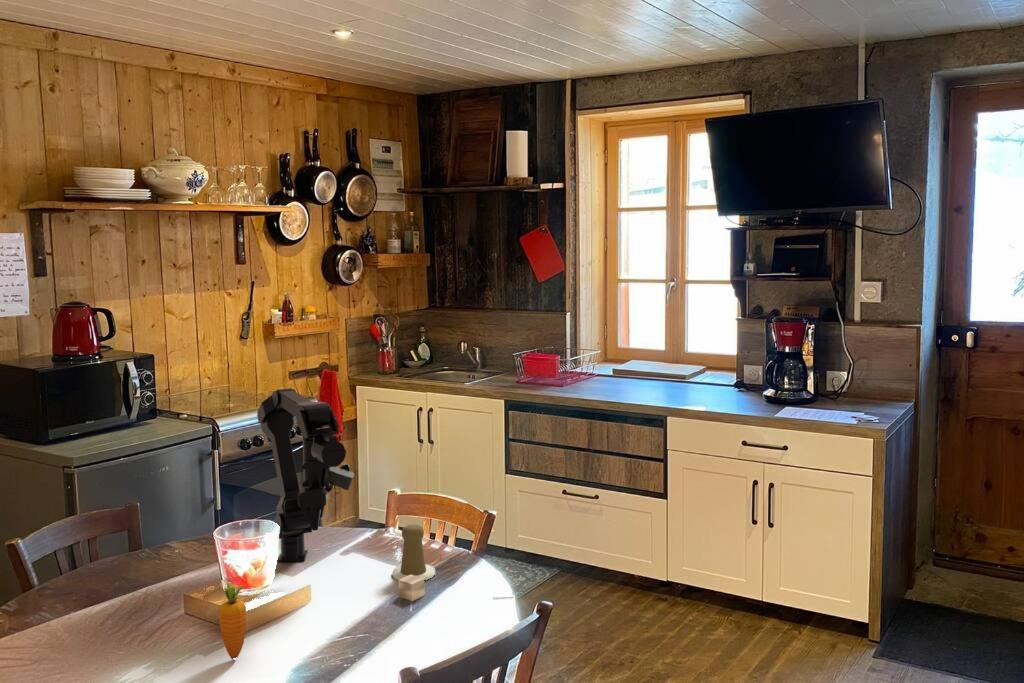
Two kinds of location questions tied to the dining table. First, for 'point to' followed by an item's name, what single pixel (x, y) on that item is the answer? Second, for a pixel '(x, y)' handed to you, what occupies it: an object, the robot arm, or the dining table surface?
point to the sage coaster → (427, 575)
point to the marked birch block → (411, 587)
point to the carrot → (232, 621)
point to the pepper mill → (413, 551)
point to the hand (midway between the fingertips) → (317, 523)
